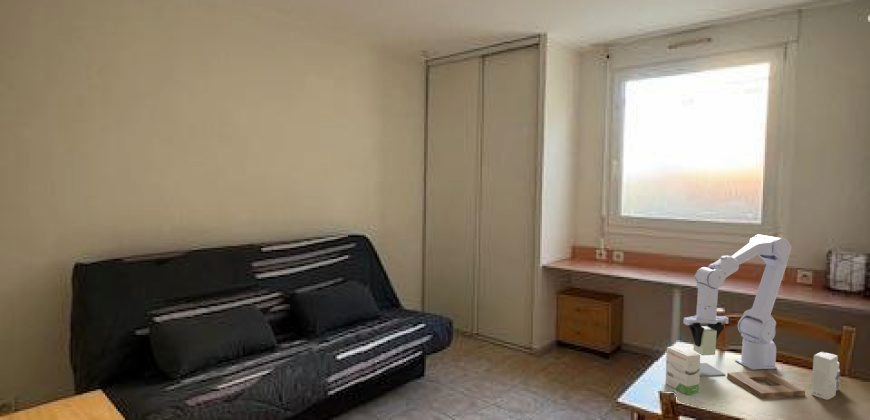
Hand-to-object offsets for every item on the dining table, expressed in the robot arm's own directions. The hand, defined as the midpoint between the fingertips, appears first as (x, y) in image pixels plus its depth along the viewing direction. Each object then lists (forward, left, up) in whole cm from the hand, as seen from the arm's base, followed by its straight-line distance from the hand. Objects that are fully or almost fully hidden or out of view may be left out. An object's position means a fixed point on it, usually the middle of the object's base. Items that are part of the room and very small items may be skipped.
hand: (704, 345), depth 161 cm
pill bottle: (-30, +16, -9) cm, 35 cm away
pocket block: (-11, +13, -8) cm, 19 cm away
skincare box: (-24, +20, -9) cm, 32 cm away
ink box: (+15, +11, -9) cm, 21 cm away
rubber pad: (0, 0, -8) cm, 8 cm away
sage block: (0, 0, -2) cm, 2 cm away
